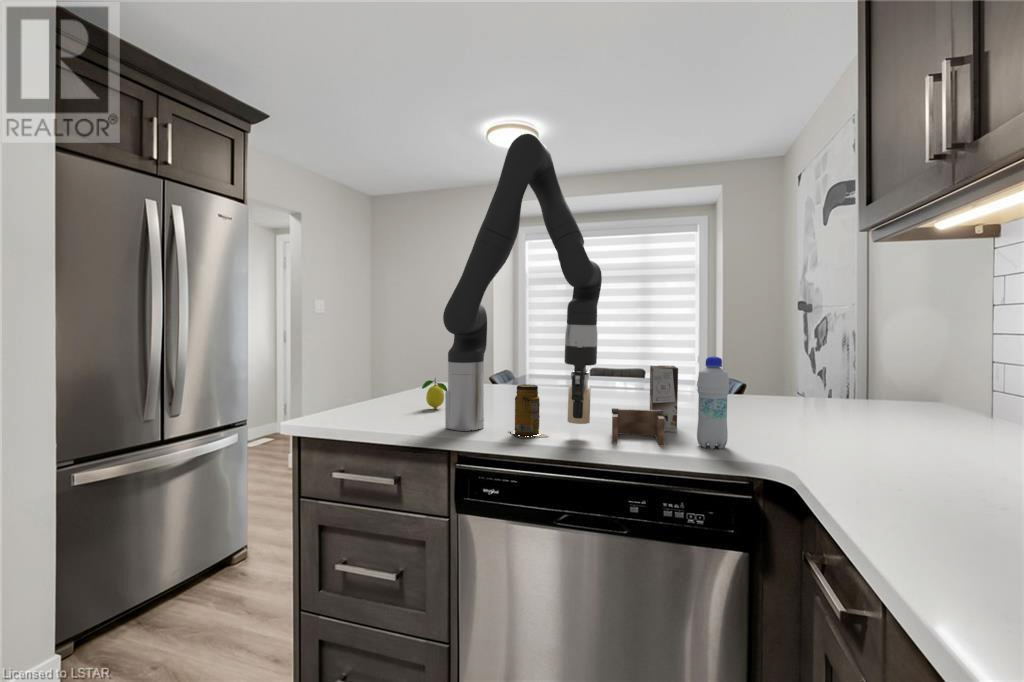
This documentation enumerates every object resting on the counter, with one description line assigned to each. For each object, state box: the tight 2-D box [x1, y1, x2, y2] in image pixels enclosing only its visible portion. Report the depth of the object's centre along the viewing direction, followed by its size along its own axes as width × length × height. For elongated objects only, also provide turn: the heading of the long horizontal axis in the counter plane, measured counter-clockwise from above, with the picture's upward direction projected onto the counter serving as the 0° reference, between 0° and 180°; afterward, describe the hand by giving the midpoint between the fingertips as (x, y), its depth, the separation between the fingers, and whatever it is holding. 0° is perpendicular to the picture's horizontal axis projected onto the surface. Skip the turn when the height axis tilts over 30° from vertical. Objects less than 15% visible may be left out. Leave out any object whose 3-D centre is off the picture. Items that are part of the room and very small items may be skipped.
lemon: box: [421, 377, 448, 410], centre depth 159 cm, size 7×6×10 cm
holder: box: [611, 407, 665, 447], centre depth 119 cm, size 12×11×7 cm
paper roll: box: [567, 386, 592, 425], centre depth 119 cm, size 5×5×8 cm
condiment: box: [508, 383, 549, 439], centre depth 123 cm, size 7×8×12 cm
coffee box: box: [649, 365, 679, 433], centre depth 131 cm, size 9×6×16 cm
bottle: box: [696, 356, 730, 450], centre depth 111 cm, size 7×7×20 cm
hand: (578, 415), depth 119 cm, fingers closed on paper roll, 5 cm apart
